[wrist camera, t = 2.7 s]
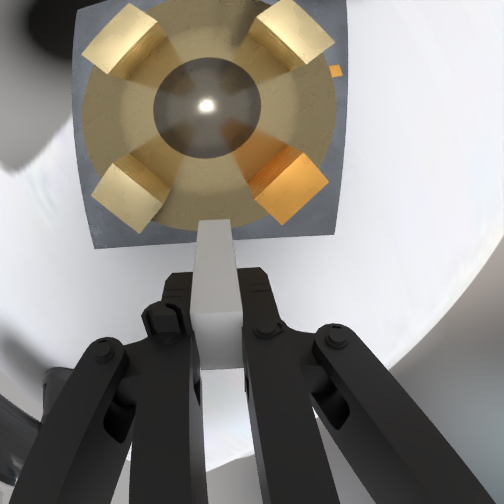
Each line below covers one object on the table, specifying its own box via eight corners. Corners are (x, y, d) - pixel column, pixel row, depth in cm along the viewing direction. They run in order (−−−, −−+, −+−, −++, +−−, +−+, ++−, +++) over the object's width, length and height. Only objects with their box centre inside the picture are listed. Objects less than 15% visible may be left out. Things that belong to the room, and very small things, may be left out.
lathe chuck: (107, 228, 21) (84, 262, 16) (94, 21, 12) (63, 2, 7) (317, 216, 23) (344, 246, 18) (326, 11, 14) (358, -10, 10)
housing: (104, 234, 25) (93, 250, 22) (90, 18, 14) (76, 9, 11) (322, 221, 27) (334, 235, 24) (332, 9, 16) (347, -1, 14)
